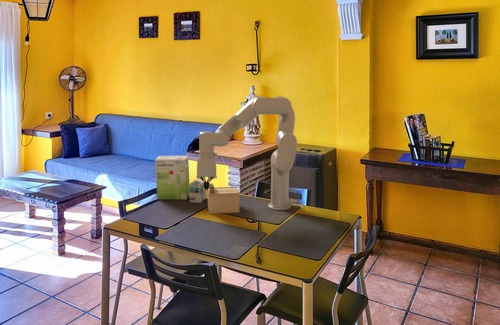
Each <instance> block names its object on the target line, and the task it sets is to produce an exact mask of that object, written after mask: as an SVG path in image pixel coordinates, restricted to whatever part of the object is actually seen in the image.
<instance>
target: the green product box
mask: <svg viewBox="0 0 500 325" xmlns="http://www.w3.org/2000/svg"><path fill="white" fill-rule="evenodd" d="M154 163H155V179H156V183H155V184H156V195H157V200H188V199H189V197H190V190H189V184H190V167H189V165H190V163H189V155H159V156H157V157H156V158H155V159H154Z"/></svg>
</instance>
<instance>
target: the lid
mask: <svg viewBox="0 0 500 325" xmlns="http://www.w3.org/2000/svg"><path fill="white" fill-rule="evenodd" d="M214 187H215V185H214V183H210V189H208V190H207V194H208V193H209V194H215V193H239V194H240V192H239V190H238V187H237V188H217V189H214Z"/></svg>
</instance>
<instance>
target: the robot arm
mask: <svg viewBox="0 0 500 325" xmlns="http://www.w3.org/2000/svg"><path fill="white" fill-rule="evenodd" d="M259 115H265V116H266V115H268V116H269V115H272V116H273V115H275V116H276V115H277V116H278V124H277V131H276V136H275V143H276V145H277V146H278V147H277V149H276V150H275V151H273V152H272V154H271V156H270V168H271V169H270V170H271V176H270V177H271V178H270V180H271V182H270V202H269V203H268V204H267V207H268V208H269V209H271V210H274V211H284V210H290V209H291V207H292V204H297V203H298V200H297V199H293V198H291V199H290V197H289V188H290V170H291V169H292V168H293V167H294V163H295V160H296V154H297V149H298V148H297V147H298V139H297V137H296V135H295V134H294V131H295V124H296V115H295V111H294V108H293V106H292V102H291V101H290V99H289V98H287V97H285V96H282V95H278V96H277V95H276V96H275V97H265V96H260V95H258V96H254V97H253V98H252V99H250V100H249V101H248V102H247V103H246V104H245V105H244V106H243V107H242V108H241V109H239V110H238V111H237V112H236V113H235V114H234V115H233V116H231V117H230V118H229V119H228V120H226V121H225V122H224V123H223V124H222V125H220V126H219V127H218V129H216V130H215V132H213V131H208V130H203V131H200V132H199V139H198V140H199V142H198V144H199V145H198V146H199V147H198V148H199V150H198V152H199V153H198V154H199V156H198V157H197V162H196V178H195V179H196V180H202V181H203V182H204V188H205V190H206V191H208V188H210V184H211V183H210V182H212V180H215V179H217V178H218V177H217V162H216V161H217V160H216V159H217V158H216V157H215V156H217V154H218V153H217V152H215V147H226V146H227V145H228V144H229V143H230V137H231V136H233V134H235V133H236V132H237V131H239V130H240V129H244V128H246V127H248V126H249V125H250V124H251V123H252V122H253V121H254V120H255V119H256V118H257V117H259ZM206 177H207V180H206Z"/></svg>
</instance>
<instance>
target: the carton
mask: <svg viewBox="0 0 500 325" xmlns="http://www.w3.org/2000/svg"><path fill="white" fill-rule="evenodd" d="M217 188H237V189H238V186H219V187H215V186H214V189H217ZM208 189H210V188H208ZM207 209H208V214H209V215H210V214H212V215H213V214H231V213H240V192H239V193H215V194H209V193H208V192H207Z"/></svg>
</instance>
